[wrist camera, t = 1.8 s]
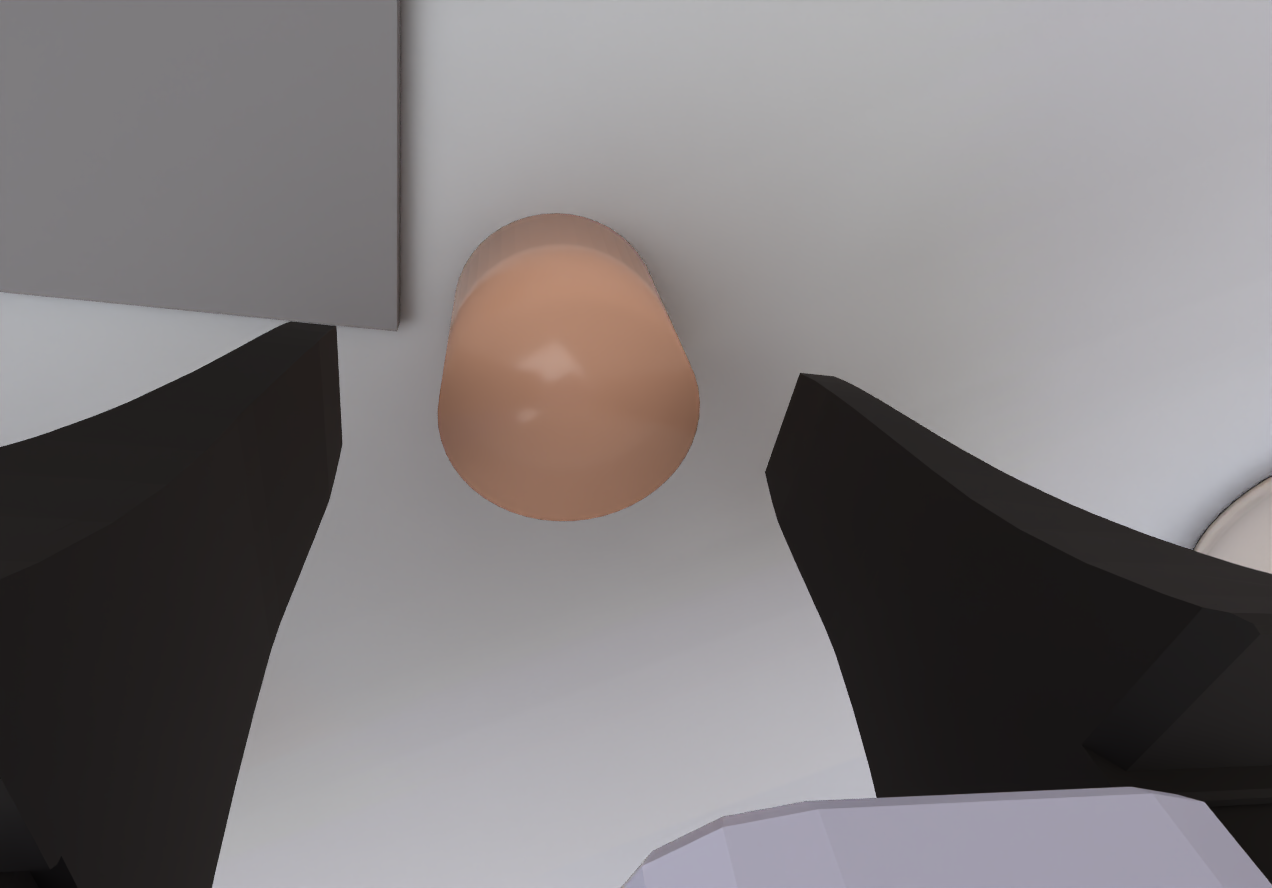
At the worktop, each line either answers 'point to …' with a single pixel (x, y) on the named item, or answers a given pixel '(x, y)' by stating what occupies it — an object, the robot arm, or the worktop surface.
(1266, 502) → the lidded jar
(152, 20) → the slate mat
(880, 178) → the worktop surface
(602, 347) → the peach rounded cylinder
